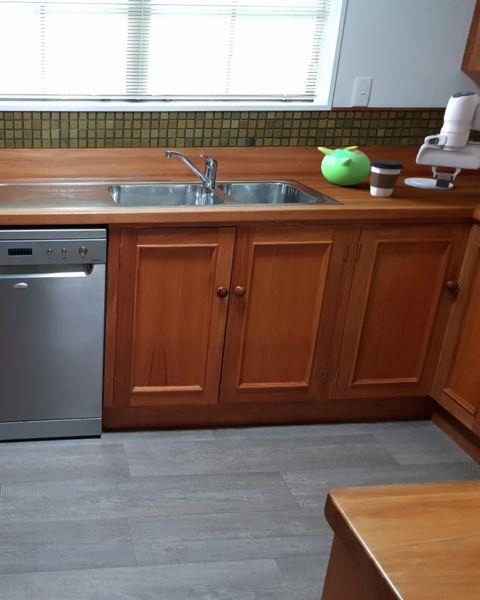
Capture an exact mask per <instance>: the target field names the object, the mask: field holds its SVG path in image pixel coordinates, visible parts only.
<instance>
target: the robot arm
mask: <svg viewBox="0 0 480 600" xmlns="http://www.w3.org/2000/svg"><path fill="white" fill-rule="evenodd" d="M471 130H473V131H477V132H480V97H479V96H478V93H477V92H475V91H460V92H459V91H458V92H455V93H453V94H452V95H451V96H450V98H449V99H448V102H447V104H446V108H445V112H444V116H443V126H442V127H441V128H440V133H438V134H432V135H428V136H426V137H425V138H424V143H423V144H422V145H421V146H420V148H419V150H418V153H417V155H416V159H415V162H416V164H417V165H421V166H422V165H423V166H431V171H432V174H433V177H432V179H435V180H437V178H438V174H439V173H440V172H437V171H436V169H437V167H445V168H455V172H454V173H453V174H452V173H450V174H451V176H450V177H451V178H450V181H455V179H456V176H457V175H458V174H459V173H460V172H461V170H462V169H465V170H466V169H467V170H478V169H480V141H472V140H471V141H470V140H469V136H470V132H471Z"/></svg>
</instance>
